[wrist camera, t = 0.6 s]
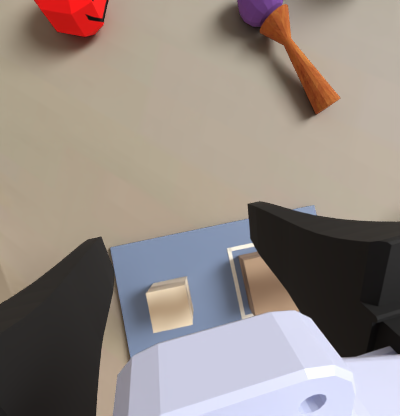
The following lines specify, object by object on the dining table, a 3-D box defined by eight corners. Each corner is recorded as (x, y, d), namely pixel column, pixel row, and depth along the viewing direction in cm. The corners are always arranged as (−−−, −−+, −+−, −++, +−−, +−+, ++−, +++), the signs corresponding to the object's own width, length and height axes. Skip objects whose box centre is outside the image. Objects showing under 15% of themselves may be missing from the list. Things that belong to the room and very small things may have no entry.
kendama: (316, 113, 30) (229, -25, 29) (301, 124, 36) (229, 10, 35) (360, 84, 29) (271, -59, 28) (337, 100, 35) (264, -18, 34)
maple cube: (193, 310, 31) (192, 324, 27) (160, 317, 31) (153, 333, 27) (186, 276, 32) (184, 285, 27) (153, 283, 32) (145, 293, 27)
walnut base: (301, 297, 32) (315, 307, 28) (249, 308, 31) (256, 320, 27) (289, 244, 32) (301, 248, 28) (238, 255, 32) (243, 260, 28)
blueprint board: (338, 321, 32) (342, 324, 31) (134, 365, 32) (132, 369, 31) (311, 205, 33) (314, 205, 32) (112, 247, 33) (109, 247, 32)
